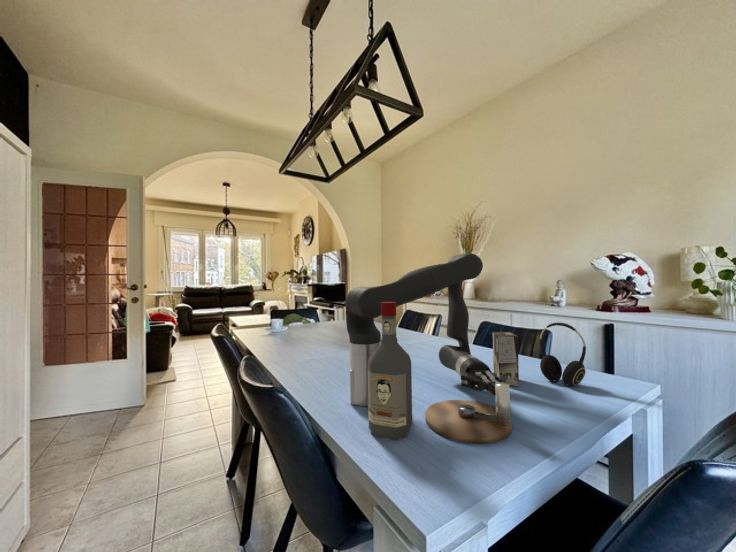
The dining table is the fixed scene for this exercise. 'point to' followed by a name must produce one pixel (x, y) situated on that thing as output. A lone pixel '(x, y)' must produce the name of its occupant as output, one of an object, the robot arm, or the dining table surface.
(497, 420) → the silver bent piece
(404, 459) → the dining table surface
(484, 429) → the round wooden board
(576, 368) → the headphones
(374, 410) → the liquor
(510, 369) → the coffee box
